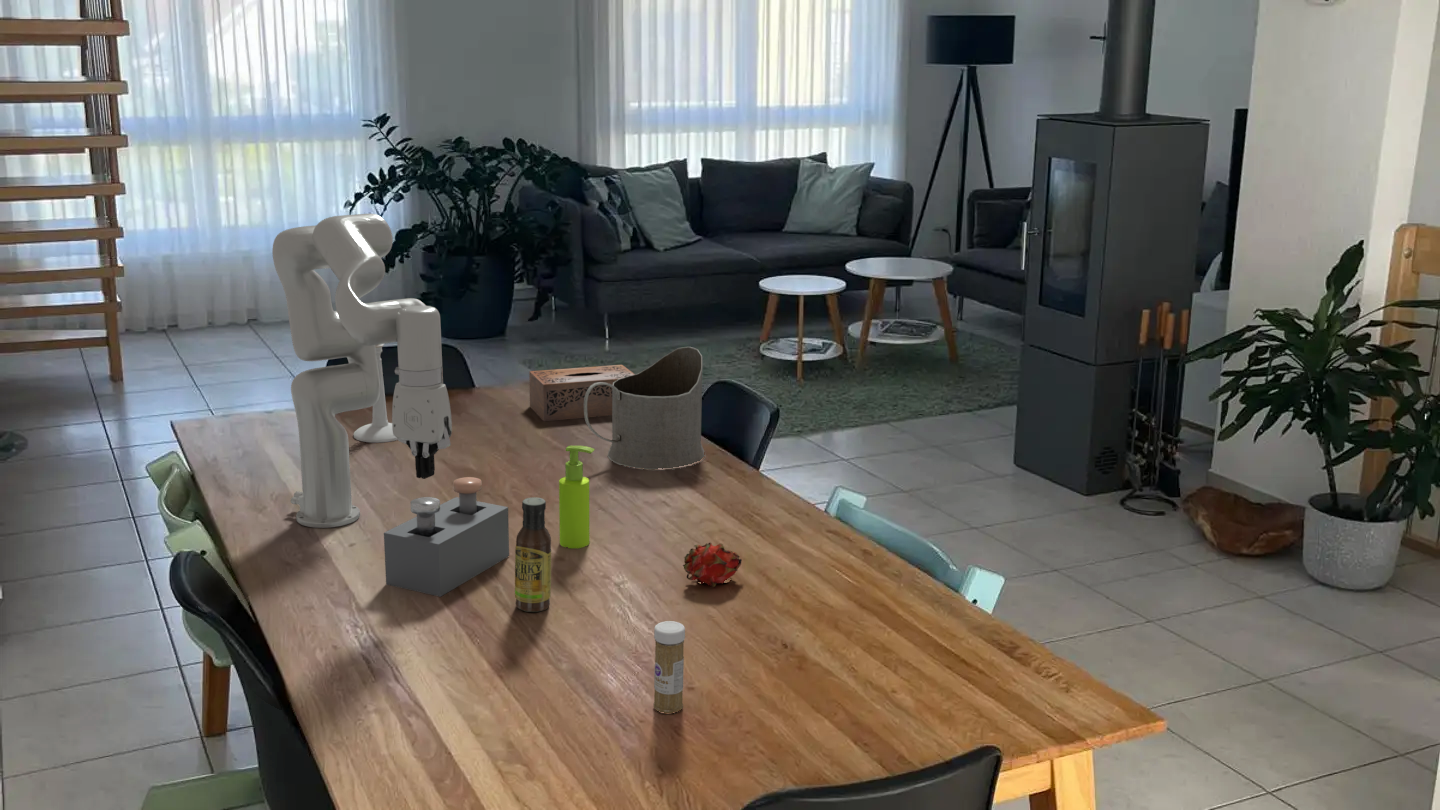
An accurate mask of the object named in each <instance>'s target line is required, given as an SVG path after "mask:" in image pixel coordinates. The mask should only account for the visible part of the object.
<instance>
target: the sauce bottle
mask: <svg viewBox="0 0 1440 810" xmlns="http://www.w3.org/2000/svg"><path fill="white" fill-rule="evenodd" d="M521 503H522V504H521V505H522V506H521V509H522V513H523V514H522V518H523V519H522V522H521V523H522V527H521V528H520V530H519V531H518V532H517V535H516V541H515V551H514V552H515V556H514V559H515V560H514V597H515V607H516V608H518V609H519V610H521V611H523V612H528V613H539V612H543V611H545V610H548V608H549V607H550V605H551V600H550V599H551V595H552V593H551V592H552V591H551V590H552V588H551V587H552V586H551V583H552V538H551V534H550V532H549V530H548V529H547V527H546V522H545V521H546V520H545V519H546V518H545V517H546V516H545V513H546V512H545V511H546V509H547V508H546V506H547V505H546V504H547V502H546V500H545V499H544V498H541V497H534V496H532V497H526V498H525V499H523V500H522V502H521Z"/></svg>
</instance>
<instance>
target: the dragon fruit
mask: <svg viewBox="0 0 1440 810" xmlns="http://www.w3.org/2000/svg"><path fill="white" fill-rule="evenodd" d="M693 547H695V548H690V549H689V551H688V553H686V554H685V556H684V557H683V558H684V560H683V561H684V564H683V565H682V566H683V570H684V572H686V573H687V574H686V579H687V580H689V581H696V580H697V581H696V582H697V583H698V582H701V584H702V585H704V584H706V585H708V586H709V585H710V586H709V587H712V588H715V587H716V585H717V584H723V583H724V581H725V580H727V579H731V577H733V576H734V575H735V574H736V573H737V572H738V569H739V568H740V567H741V565H742V558H740V556H739V554H738V553H737V552H734V551H733V550H727V549H726V548H725V546H724V544H723V543H718V544H716V545H713V543H712V542H708V543H705V544H704V545H701V544H694V546H693ZM689 575H691V576H689ZM703 582H705V583H703Z"/></svg>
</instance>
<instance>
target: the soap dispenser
mask: <svg viewBox="0 0 1440 810" xmlns="http://www.w3.org/2000/svg"><path fill="white" fill-rule="evenodd" d="M565 451H566V452H569V460H568V461H566V462H565V466H564V467H565V470H564V471H565V476H564V477H561V478H560V479H559V480H558V495H559V497H558V501H559V503H558V505H559V506H558V507H559V508H558V510H559V511H558V513H559V545H560V546H561V547H563V548H566V547H568V548H567V549H582V548H585V546H586V547H587V546H589V545H590V478H588V477H586V476H584V470H583V469H584V466H583V465H584V463H583V462H582V461H581V460H579V453H586V454H592V453H593V452H594V451H595V448H593V447H590V446H585V445H567V447H566V448H565Z"/></svg>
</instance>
